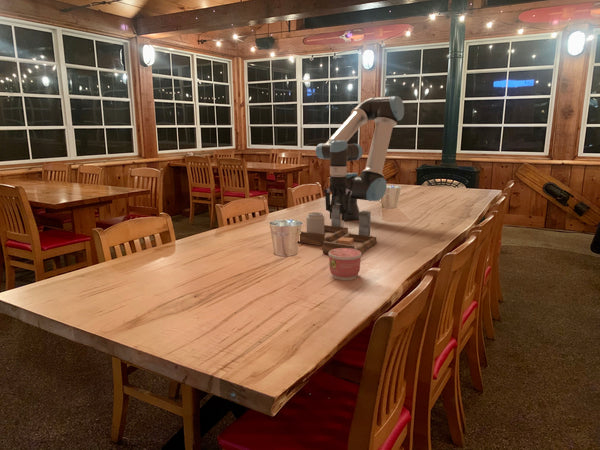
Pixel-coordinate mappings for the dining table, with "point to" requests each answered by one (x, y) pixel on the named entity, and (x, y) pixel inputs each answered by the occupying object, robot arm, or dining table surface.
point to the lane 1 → (320, 238)
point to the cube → (346, 240)
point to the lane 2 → (355, 236)
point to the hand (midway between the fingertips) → (337, 226)
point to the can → (315, 223)
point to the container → (344, 263)
